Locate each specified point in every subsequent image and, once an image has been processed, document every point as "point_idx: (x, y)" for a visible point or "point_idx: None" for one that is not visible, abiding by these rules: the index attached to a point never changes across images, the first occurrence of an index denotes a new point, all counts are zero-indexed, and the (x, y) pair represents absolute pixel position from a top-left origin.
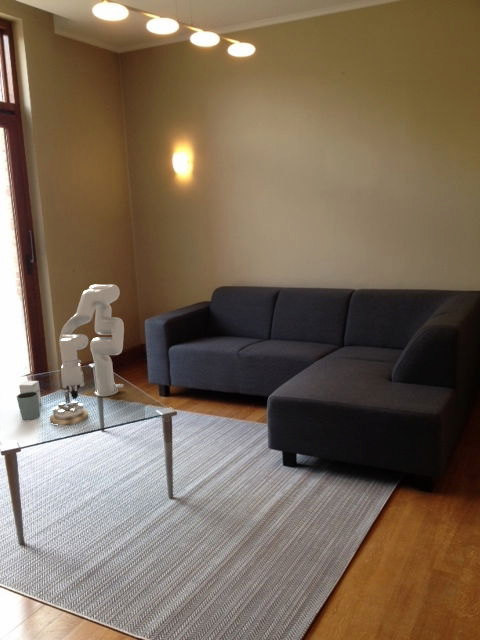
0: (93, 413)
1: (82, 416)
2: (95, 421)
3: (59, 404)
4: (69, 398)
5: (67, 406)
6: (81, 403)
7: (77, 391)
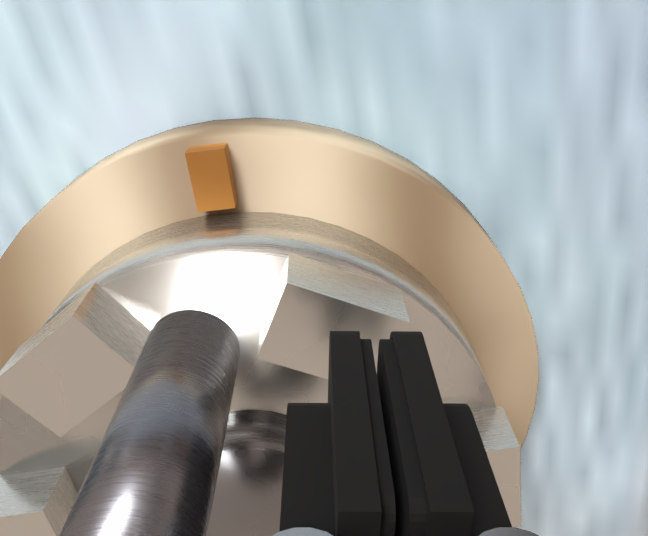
0: (596, 259)
1: None
2: (601, 503)
3: (33, 415)
4: (227, 421)
5: (245, 533)
6: (499, 457)
7: (499, 520)
